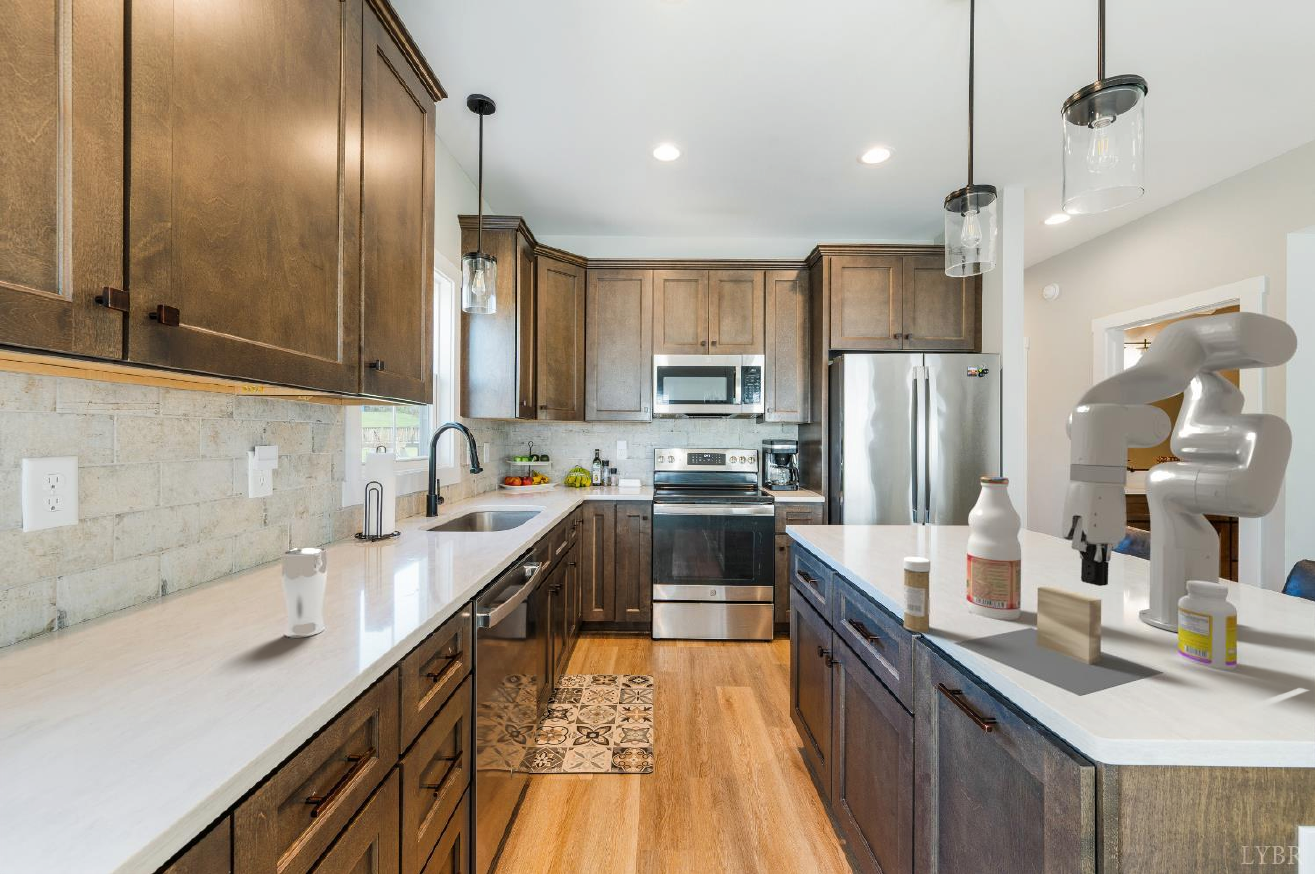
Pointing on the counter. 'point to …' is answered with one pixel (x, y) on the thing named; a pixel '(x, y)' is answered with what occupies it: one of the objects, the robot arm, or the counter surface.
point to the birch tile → (1069, 624)
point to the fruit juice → (994, 554)
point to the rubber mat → (1056, 663)
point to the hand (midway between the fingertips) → (1094, 583)
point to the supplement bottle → (1207, 626)
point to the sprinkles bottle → (916, 594)
